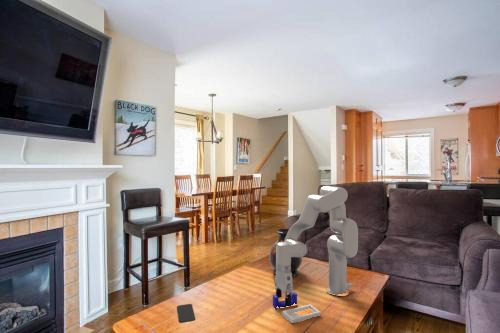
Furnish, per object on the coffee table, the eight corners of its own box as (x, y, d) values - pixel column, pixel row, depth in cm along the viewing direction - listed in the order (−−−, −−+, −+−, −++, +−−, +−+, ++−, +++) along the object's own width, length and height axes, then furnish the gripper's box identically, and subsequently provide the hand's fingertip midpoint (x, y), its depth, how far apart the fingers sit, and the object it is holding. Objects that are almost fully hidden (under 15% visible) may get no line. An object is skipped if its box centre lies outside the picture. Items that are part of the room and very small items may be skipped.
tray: (310, 308, 138) (310, 304, 138) (320, 316, 131) (320, 311, 131) (282, 315, 131) (282, 311, 131) (292, 324, 124) (292, 319, 124)
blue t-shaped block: (293, 301, 145) (293, 290, 145) (297, 306, 141) (297, 294, 141) (271, 305, 141) (271, 293, 141) (275, 309, 137) (275, 297, 137)
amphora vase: (264, 269, 190) (264, 228, 190) (293, 265, 196) (293, 226, 196) (276, 281, 169) (277, 235, 169) (308, 277, 176) (308, 233, 175)
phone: (179, 322, 125) (176, 305, 139) (179, 323, 125) (176, 307, 139) (195, 319, 127) (191, 303, 141) (195, 321, 127) (191, 305, 141)
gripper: (299, 271, 136) (299, 307, 136) (280, 260, 152) (280, 292, 152) (286, 274, 133) (286, 311, 133) (268, 262, 148) (268, 295, 148)
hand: (283, 301), depth 142 cm, fingers open, 8 cm apart
